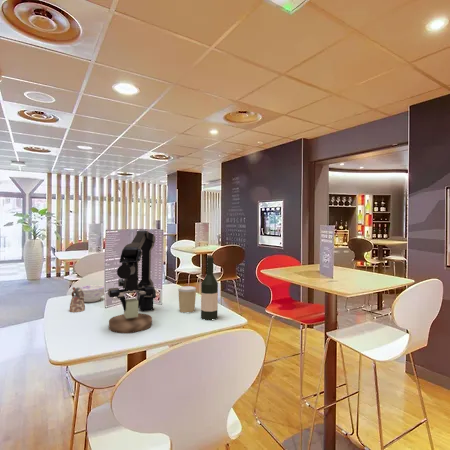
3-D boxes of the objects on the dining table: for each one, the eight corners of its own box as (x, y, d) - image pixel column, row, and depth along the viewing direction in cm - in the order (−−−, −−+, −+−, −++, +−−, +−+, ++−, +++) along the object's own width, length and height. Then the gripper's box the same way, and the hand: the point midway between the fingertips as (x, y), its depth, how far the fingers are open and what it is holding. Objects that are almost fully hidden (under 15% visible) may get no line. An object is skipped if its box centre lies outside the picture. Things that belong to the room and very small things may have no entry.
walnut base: (145, 317, 145) (145, 311, 145) (156, 328, 130) (156, 321, 130) (106, 323, 137) (106, 316, 137) (112, 335, 121) (112, 328, 121)
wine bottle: (220, 316, 148) (221, 255, 149) (212, 321, 141) (213, 257, 141) (205, 314, 152) (206, 254, 152) (197, 318, 144) (198, 256, 145)
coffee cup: (198, 309, 161) (199, 286, 161) (191, 314, 152) (191, 290, 152) (183, 307, 164) (183, 285, 164) (174, 312, 155) (175, 288, 155)
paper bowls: (86, 297, 185) (86, 284, 185) (109, 298, 183) (109, 285, 183) (70, 303, 170) (70, 289, 170) (95, 304, 168) (95, 290, 168)
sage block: (135, 313, 137) (135, 298, 137) (138, 316, 132) (138, 300, 132) (123, 315, 134) (124, 299, 134) (126, 318, 130) (126, 302, 130)
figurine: (78, 312, 152) (79, 288, 152) (66, 311, 153) (66, 288, 153) (87, 309, 159) (88, 286, 159) (75, 308, 160) (76, 285, 160)
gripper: (147, 271, 145) (147, 303, 145) (106, 273, 136) (105, 308, 136) (154, 274, 135) (153, 309, 135) (110, 277, 126) (109, 315, 126)
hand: (131, 310), depth 133 cm, fingers closed on sage block, 5 cm apart
